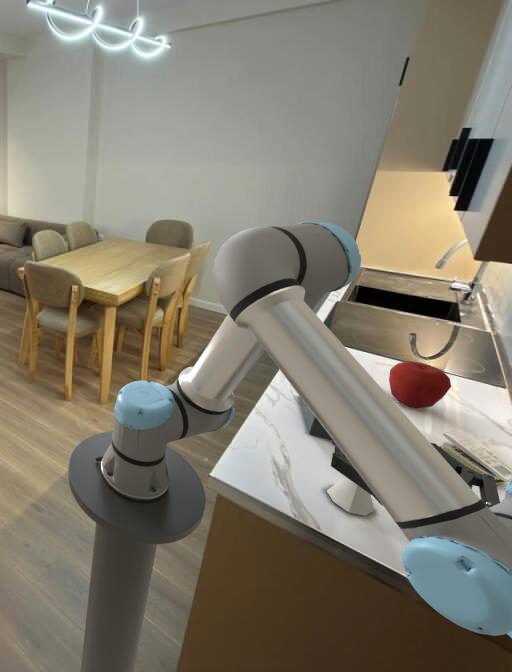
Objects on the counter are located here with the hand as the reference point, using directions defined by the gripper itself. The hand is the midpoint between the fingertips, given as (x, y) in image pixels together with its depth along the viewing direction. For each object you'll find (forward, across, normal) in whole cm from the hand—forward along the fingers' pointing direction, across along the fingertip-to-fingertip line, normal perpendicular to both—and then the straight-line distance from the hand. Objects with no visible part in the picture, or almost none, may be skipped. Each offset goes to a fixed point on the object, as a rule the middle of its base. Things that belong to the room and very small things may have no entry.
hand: (381, 443), depth 71 cm
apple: (+54, +32, -17) cm, 65 cm away
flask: (+8, +1, -20) cm, 22 cm away
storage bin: (+37, +10, -17) cm, 42 cm away
